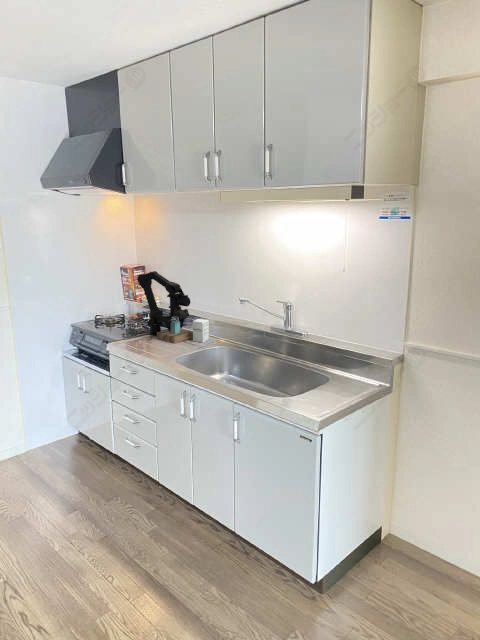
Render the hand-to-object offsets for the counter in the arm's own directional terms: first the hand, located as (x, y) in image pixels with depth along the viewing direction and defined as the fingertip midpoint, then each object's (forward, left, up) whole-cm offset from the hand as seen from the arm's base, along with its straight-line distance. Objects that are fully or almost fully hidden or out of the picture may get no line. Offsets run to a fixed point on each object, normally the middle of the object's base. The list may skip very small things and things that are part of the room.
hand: (175, 329), depth 294 cm
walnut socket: (0, 0, -6) cm, 6 cm away
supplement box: (+15, +7, -6) cm, 18 cm away
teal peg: (0, 0, -5) cm, 5 cm away
